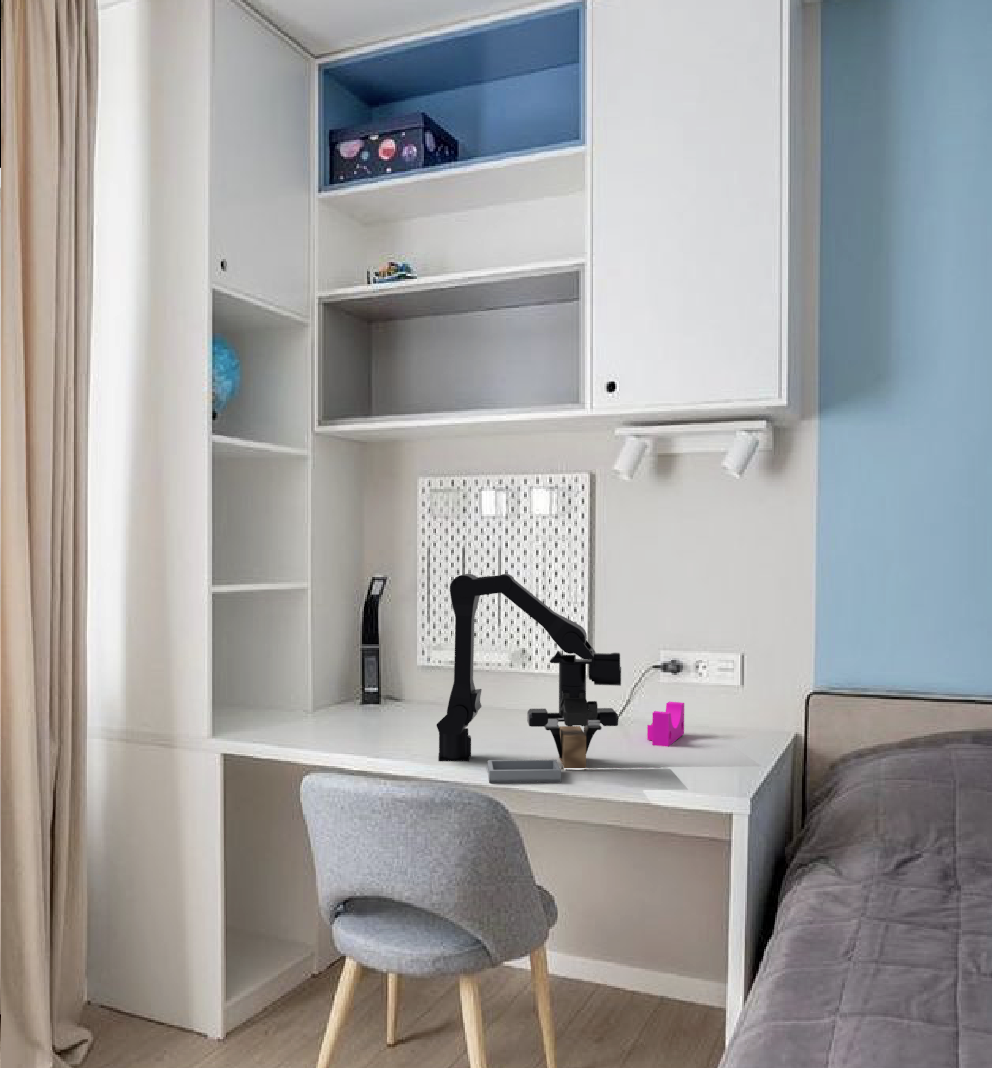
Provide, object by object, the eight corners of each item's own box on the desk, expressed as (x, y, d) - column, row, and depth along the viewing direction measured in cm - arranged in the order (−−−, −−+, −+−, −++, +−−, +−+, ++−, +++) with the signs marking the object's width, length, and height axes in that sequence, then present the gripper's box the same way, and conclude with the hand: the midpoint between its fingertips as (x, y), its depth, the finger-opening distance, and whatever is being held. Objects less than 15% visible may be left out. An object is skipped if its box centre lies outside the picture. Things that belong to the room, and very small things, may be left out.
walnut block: (564, 770, 202) (564, 736, 202) (558, 758, 212) (559, 726, 212) (585, 770, 202) (586, 736, 202) (579, 758, 212) (579, 726, 212)
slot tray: (489, 783, 192) (489, 770, 192) (487, 771, 201) (487, 760, 201) (560, 782, 193) (560, 770, 193) (556, 771, 201) (556, 759, 201)
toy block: (658, 731, 241) (659, 700, 241) (684, 733, 238) (684, 702, 238) (641, 743, 227) (642, 711, 227) (668, 746, 225) (668, 714, 225)
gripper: (531, 691, 199) (531, 768, 199) (623, 690, 199) (622, 767, 200) (527, 682, 210) (527, 754, 210) (613, 681, 211) (613, 754, 211)
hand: (572, 757), depth 207 cm, fingers closed on walnut block, 4 cm apart
